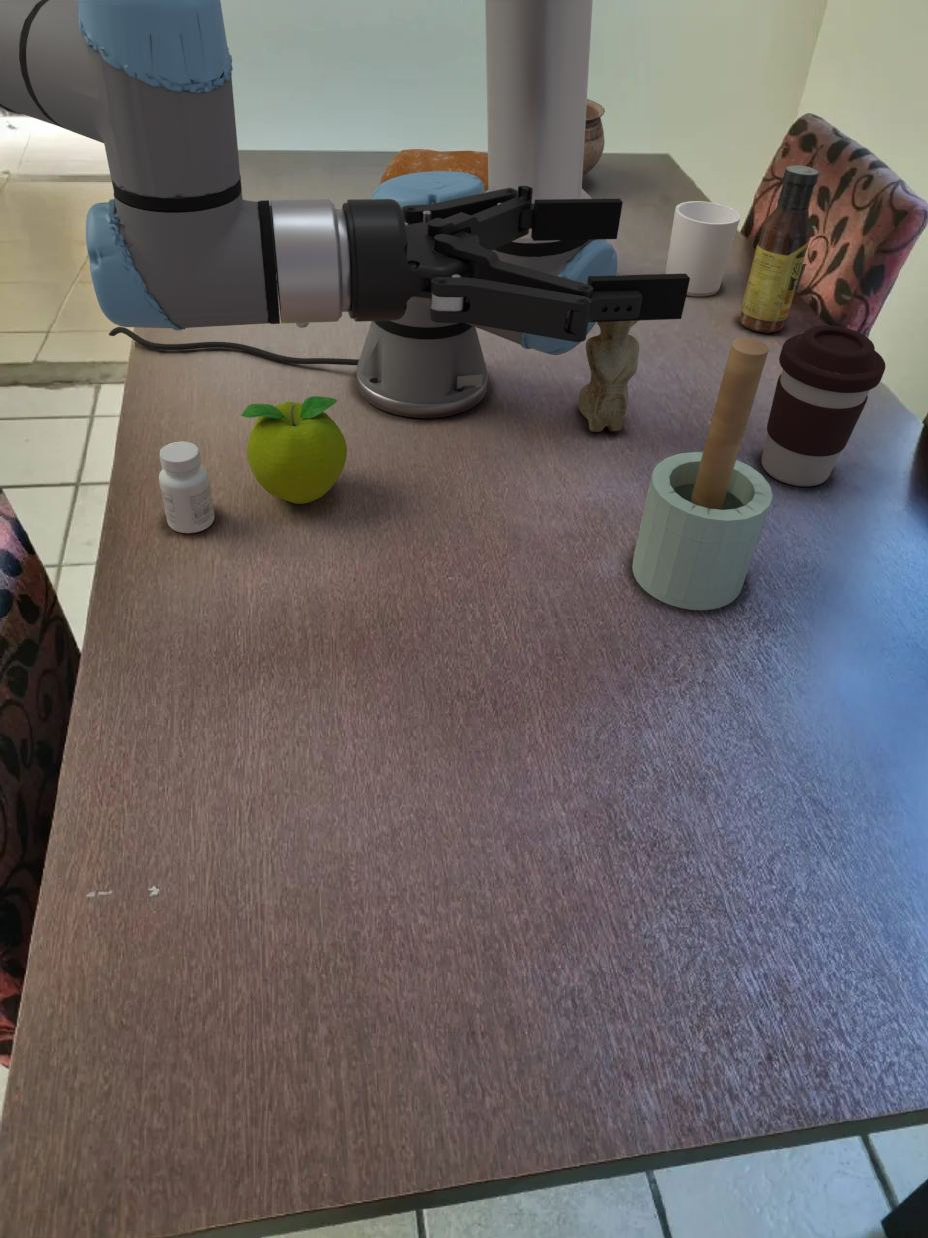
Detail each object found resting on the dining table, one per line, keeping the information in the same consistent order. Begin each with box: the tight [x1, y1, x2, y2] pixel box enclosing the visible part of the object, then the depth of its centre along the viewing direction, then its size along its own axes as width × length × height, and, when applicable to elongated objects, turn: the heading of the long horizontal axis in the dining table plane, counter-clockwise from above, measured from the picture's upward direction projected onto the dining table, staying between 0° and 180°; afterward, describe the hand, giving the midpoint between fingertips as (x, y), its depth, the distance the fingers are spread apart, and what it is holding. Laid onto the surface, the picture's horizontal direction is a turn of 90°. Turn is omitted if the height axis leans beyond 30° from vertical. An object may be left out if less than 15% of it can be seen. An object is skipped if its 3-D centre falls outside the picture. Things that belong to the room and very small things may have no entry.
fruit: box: [240, 395, 348, 505], centre depth 90 cm, size 9×9×10 cm
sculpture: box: [577, 321, 640, 433], centre depth 102 cm, size 6×7×15 cm
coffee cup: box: [761, 324, 887, 487], centre depth 96 cm, size 10×10×15 cm
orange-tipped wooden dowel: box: [689, 337, 770, 510], centre depth 79 cm, size 4×4×22 cm
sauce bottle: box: [739, 164, 820, 334], centre depth 121 cm, size 6×6×20 cm
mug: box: [664, 200, 741, 298], centre depth 134 cm, size 11×9×10 cm
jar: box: [631, 451, 774, 611], centre depth 84 cm, size 10×10×10 cm
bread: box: [379, 148, 488, 192], centre depth 131 cm, size 14×26×16 cm, turn 82°
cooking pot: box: [582, 98, 606, 177], centre depth 162 cm, size 25×19×12 cm
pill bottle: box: [158, 441, 215, 534], centre depth 87 cm, size 4×4×8 cm
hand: (649, 254), depth 65 cm, fingers open, 13 cm apart
